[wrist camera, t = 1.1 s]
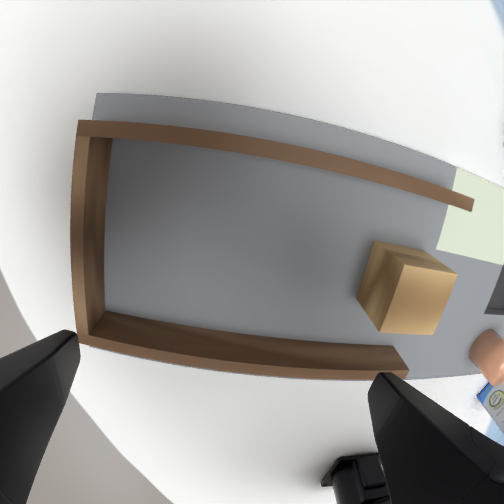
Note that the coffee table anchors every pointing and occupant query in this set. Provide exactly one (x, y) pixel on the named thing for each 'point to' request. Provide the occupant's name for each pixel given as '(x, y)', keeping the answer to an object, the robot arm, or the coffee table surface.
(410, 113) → the coffee table surface
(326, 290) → the slate board
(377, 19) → the coffee table surface
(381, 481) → the robot arm
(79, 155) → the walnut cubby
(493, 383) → the peach dome
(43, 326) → the coffee table surface
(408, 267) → the oak block
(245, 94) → the coffee table surface
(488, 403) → the medicine box
